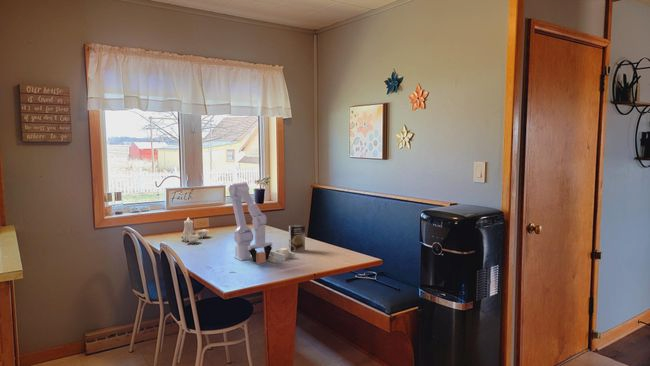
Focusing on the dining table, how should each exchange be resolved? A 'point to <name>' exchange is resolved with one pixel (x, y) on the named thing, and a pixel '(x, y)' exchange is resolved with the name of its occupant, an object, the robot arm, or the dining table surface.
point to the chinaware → (192, 232)
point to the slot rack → (280, 257)
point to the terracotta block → (260, 257)
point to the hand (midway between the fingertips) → (260, 260)
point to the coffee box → (296, 238)
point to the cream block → (284, 252)
